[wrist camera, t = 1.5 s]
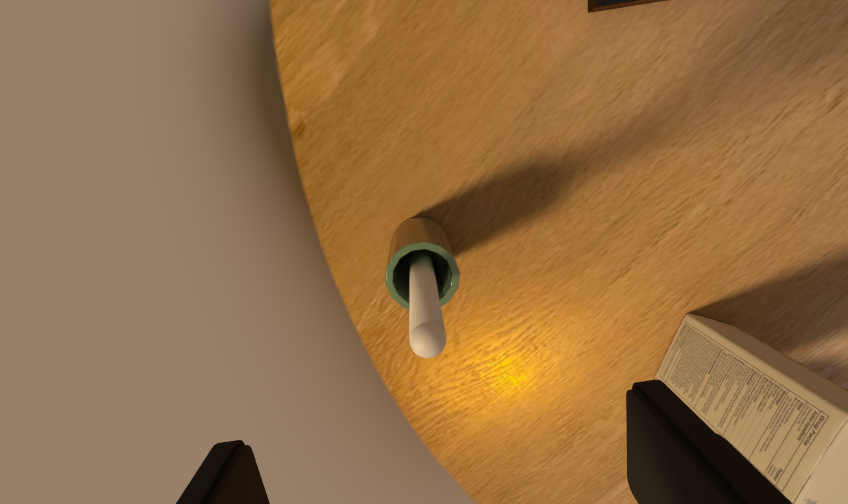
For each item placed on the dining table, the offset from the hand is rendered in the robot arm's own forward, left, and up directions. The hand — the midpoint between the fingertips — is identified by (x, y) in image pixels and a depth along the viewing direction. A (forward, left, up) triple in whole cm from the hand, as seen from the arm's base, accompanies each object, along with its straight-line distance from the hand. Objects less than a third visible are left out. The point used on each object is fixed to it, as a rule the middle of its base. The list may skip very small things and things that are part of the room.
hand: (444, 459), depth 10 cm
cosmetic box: (+12, +20, -20) cm, 30 cm away
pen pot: (0, 0, -20) cm, 20 cm away
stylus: (0, 0, -19) cm, 19 cm away
